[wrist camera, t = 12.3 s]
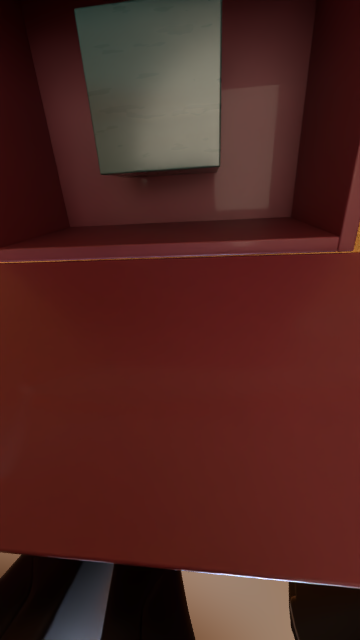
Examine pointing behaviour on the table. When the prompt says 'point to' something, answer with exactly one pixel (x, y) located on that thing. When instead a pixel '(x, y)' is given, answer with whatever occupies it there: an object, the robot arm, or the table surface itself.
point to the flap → (184, 414)
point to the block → (154, 85)
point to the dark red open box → (188, 189)
